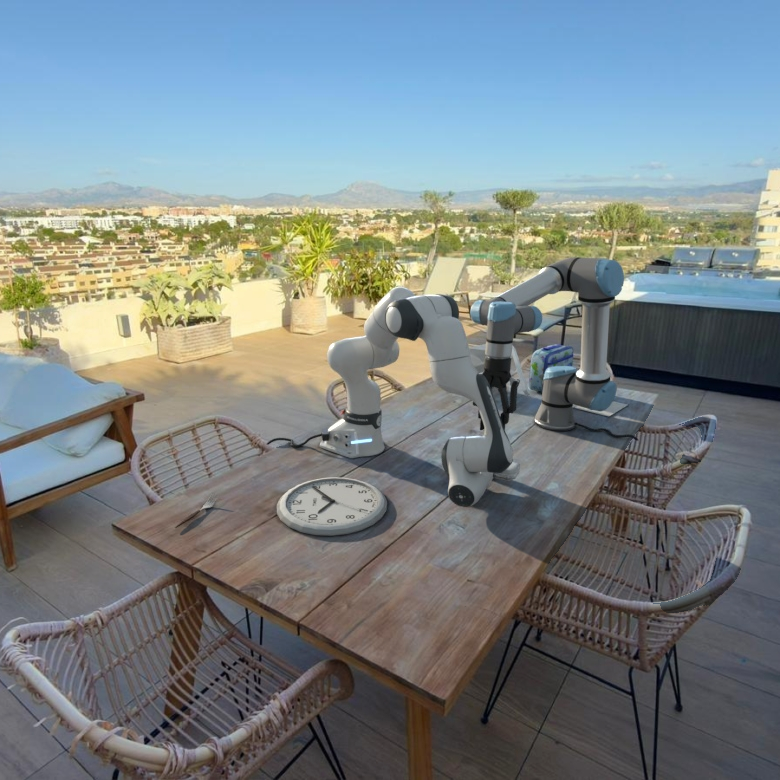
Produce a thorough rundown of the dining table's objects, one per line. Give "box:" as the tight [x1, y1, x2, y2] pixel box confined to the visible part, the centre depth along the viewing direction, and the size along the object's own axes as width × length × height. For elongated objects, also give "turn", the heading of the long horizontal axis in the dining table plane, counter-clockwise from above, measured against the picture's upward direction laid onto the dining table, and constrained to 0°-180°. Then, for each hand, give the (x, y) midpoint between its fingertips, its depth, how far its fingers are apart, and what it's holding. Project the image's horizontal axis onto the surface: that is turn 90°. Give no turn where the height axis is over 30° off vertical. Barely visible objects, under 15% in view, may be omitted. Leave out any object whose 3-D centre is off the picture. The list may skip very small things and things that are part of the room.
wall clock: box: [276, 476, 388, 537], centre depth 142 cm, size 30×2×30 cm
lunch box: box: [528, 344, 574, 393], centre depth 247 cm, size 26×11×21 cm, turn 134°
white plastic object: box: [469, 343, 531, 397], centre depth 245 cm, size 37×45×31 cm
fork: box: [174, 492, 220, 529], centre depth 137 cm, size 3×16×2 cm, turn 160°
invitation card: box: [573, 400, 629, 418], centre depth 226 cm, size 21×1×15 cm
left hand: (490, 454), depth 161 cm, fingers closed on jar, 5 cm apart
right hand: (492, 430), depth 158 cm, fingers closed on lid, 5 cm apart
